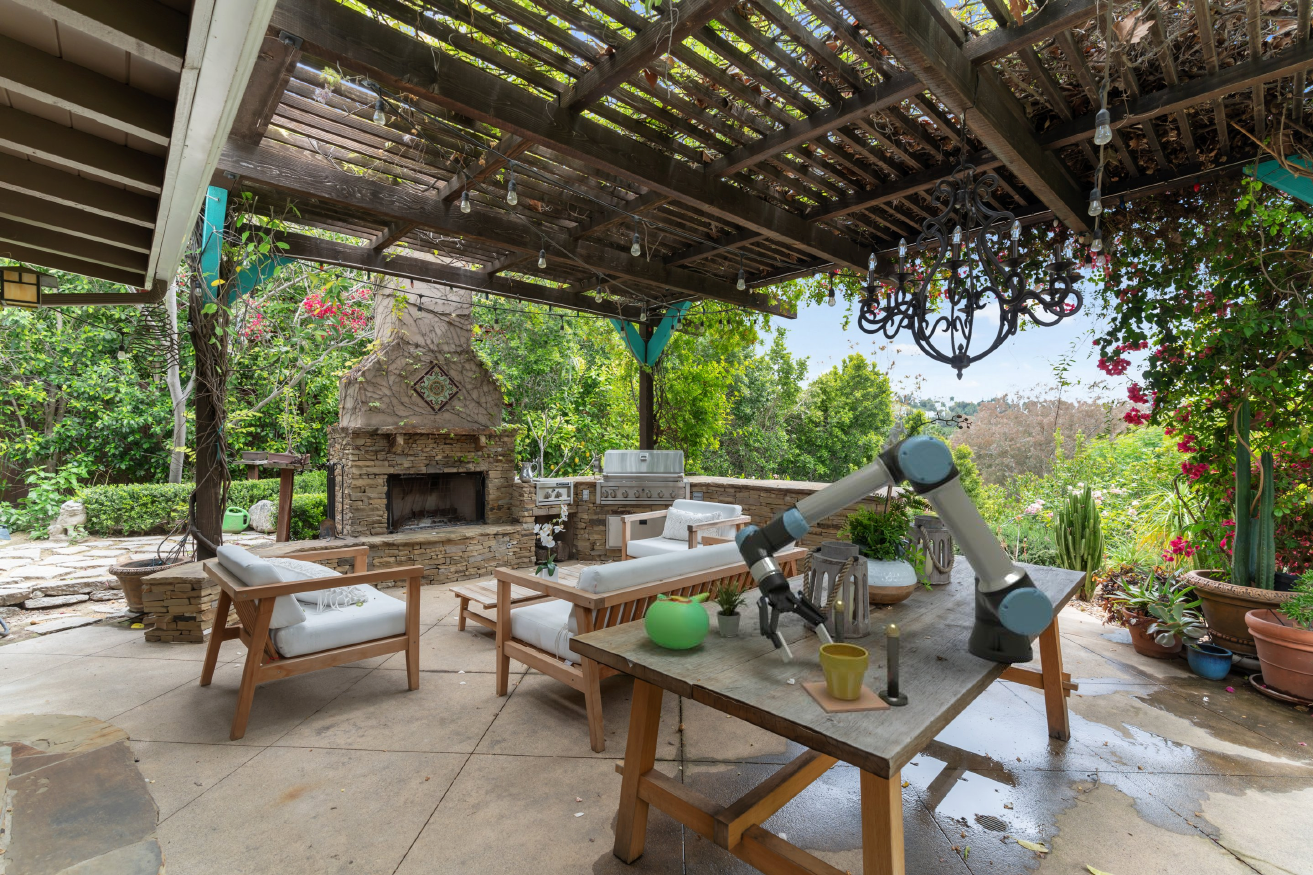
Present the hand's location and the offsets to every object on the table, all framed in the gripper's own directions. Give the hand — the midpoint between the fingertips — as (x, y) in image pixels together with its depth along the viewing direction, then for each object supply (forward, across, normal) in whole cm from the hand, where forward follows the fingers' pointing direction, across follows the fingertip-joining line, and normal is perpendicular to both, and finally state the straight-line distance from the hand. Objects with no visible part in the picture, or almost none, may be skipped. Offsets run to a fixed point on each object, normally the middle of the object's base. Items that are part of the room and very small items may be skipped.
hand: (811, 655), depth 141 cm
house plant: (-21, -2, -29) cm, 36 cm away
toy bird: (-20, +17, -29) cm, 39 cm away
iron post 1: (+2, -12, -6) cm, 14 cm away
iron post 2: (+16, -8, +8) cm, 20 cm away
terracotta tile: (+12, 0, +3) cm, 12 cm away
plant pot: (+11, 0, +4) cm, 12 cm away
